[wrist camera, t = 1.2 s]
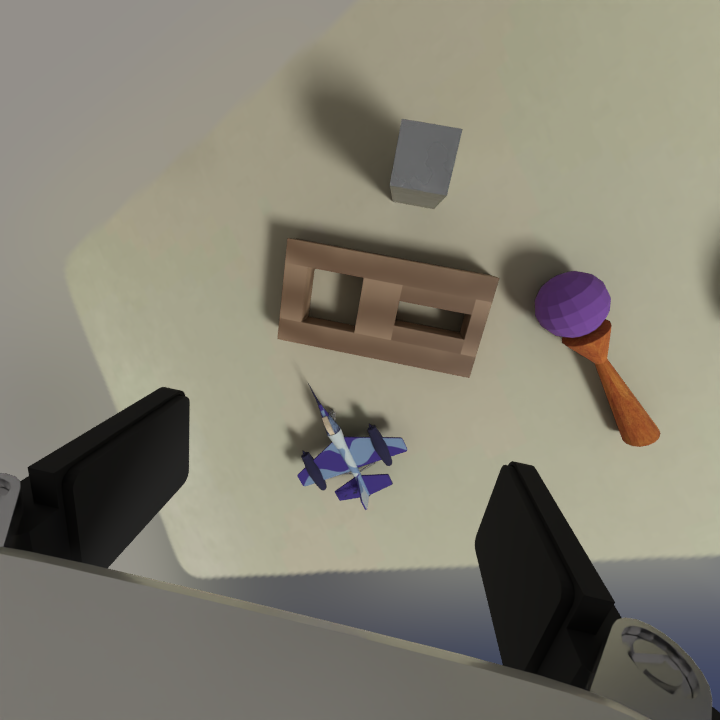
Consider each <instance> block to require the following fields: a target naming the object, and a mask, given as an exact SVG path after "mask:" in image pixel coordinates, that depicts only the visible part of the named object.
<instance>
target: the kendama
mask: <svg viewBox="0 0 720 720" xmlns="http://www.w3.org/2000/svg"><path fill="white" fill-rule="evenodd" d="M610 302H611V298H610V295H609V293H608V291H607V289H606V287H605V285H604V283H603V282H602V281H601V280H600V279H598V278H597V277H595V276H594V275H592V274H588V273H584V272H578V271H570V272H566V273H563V274H560V275H557V276H555V277H553V278H552V279H550V280H549V281H547V282H546V283H545V284H544V285H543V286H542V287H541V288H540V290H539V292H538V294H537V296H536V299H535V316H536V318H537V320H538V321H539V323H540V325H541V326H542V327H543V328H545V329H546V330H548V331H549V332H551V333H552V334H554V335H555V336H562V343H563V344H565V345H566V346H568V347H569V348H571V349H572V350H574V351H576V352H577V353H579V354H581V355H582V356H584V357H585V358H587V359H589V360H590V361H592V362H594V363H595V366H596V368H597V371H598V374H599V377H600V379H601V382H602V385H603V388H604V390H605V393H606V396H607V399H608V401H609V404H610V407H611V409H612V412H613V415H614V418H615V420H616V423H617V426H618V429H619V431H620V434H621V437H622V440H623V441H624V442H625V443H626V444H629V445H631V446H639V447H641V446H647V445H650V444H652V443H654V442H655V441H656V440H658V439H659V436H660V431H659V429H658V427H657V426H656V425H655V423H654V422H653V421H652V419H651V418H650V416H649V415H648V414H647V412H646V411H645V410H644V408H643V407H642V406H641V404H640V403H639V401H638V400H637V399H636V397H635V396H634V395H633V393H632V392H631V391H630V389H629V388H628V387H627V385H626V384H625V382H624V381H623V380H622V378H621V377H620V376H619V374H618V373H617V372H616V370H615V369H614V367H613V366H612V365H611V363H610V362H609V361H608V359H607V355H608V348H609V340H610V333H611V323H610V321H608V320H606V319H605V318H606V317H607V315H608V313H609V311H610Z"/></svg>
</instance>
